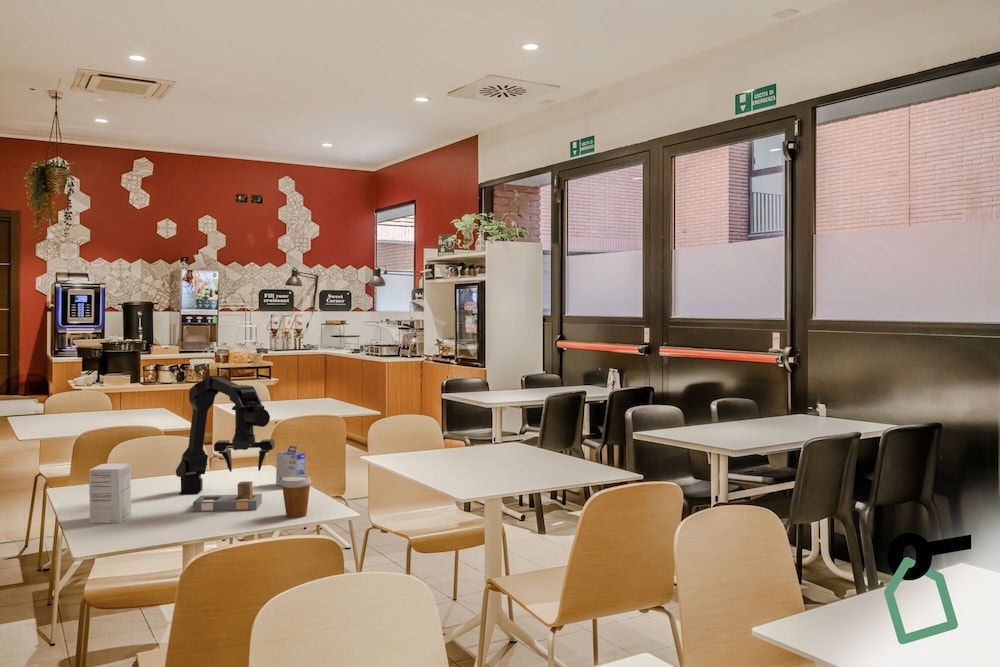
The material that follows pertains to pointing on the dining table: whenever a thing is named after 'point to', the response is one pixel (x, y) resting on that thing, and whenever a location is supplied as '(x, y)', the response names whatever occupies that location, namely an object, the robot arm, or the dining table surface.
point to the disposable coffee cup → (296, 495)
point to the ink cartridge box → (289, 464)
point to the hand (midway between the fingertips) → (245, 471)
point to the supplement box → (110, 493)
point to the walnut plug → (245, 490)
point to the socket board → (226, 503)
